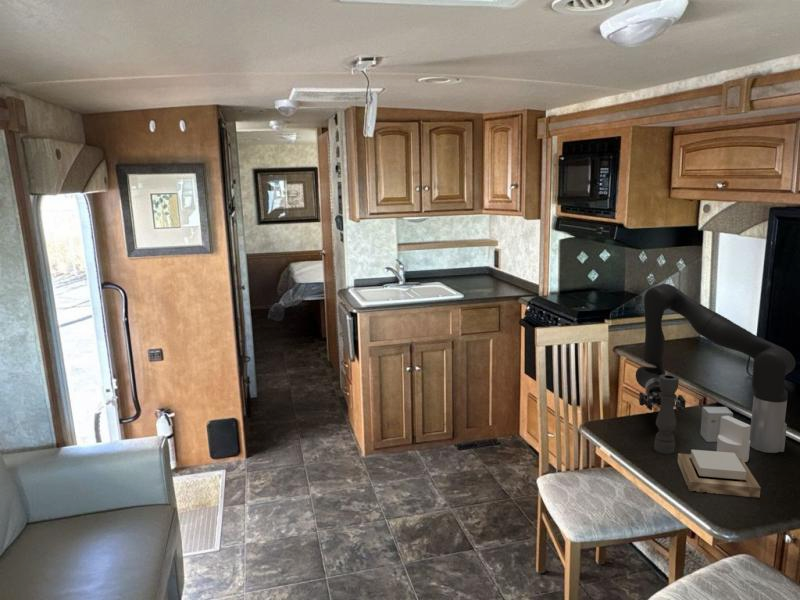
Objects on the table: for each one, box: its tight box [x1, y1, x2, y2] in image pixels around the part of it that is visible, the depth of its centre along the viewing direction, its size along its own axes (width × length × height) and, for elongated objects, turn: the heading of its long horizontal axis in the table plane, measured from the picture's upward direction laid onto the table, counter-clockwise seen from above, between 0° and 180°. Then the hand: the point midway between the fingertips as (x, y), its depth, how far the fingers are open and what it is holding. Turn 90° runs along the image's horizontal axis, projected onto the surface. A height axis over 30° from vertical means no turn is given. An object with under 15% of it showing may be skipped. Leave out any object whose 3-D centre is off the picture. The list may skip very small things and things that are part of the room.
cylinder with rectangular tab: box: [716, 416, 751, 464], centre depth 192 cm, size 9×9×12 cm
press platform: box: [690, 449, 746, 480], centre depth 179 cm, size 12×12×2 cm
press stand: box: [677, 452, 762, 499], centre depth 179 cm, size 18×18×3 cm
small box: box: [700, 406, 734, 443], centre depth 205 cm, size 8×6×10 cm
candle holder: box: [653, 373, 680, 455], centre depth 197 cm, size 6×6×25 cm
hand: (664, 408), depth 200 cm, fingers open, 8 cm apart
